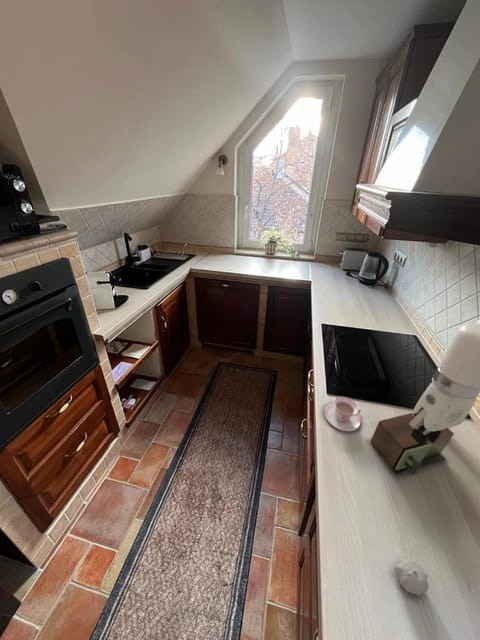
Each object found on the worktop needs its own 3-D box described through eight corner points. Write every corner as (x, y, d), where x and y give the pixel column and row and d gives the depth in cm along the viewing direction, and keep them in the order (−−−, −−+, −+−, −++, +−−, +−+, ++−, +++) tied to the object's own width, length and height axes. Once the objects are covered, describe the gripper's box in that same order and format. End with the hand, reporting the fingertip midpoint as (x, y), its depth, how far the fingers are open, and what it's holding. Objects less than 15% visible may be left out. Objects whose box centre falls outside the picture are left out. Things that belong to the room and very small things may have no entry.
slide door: (429, 473, 71) (442, 455, 67) (404, 481, 69) (416, 463, 65) (418, 461, 74) (430, 443, 70) (394, 468, 72) (405, 450, 68)
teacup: (323, 426, 85) (327, 413, 82) (324, 400, 95) (327, 388, 92) (362, 436, 82) (367, 423, 79) (358, 408, 92) (363, 396, 89)
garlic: (397, 595, 51) (406, 586, 48) (387, 560, 56) (395, 550, 53) (429, 602, 50) (440, 593, 48) (417, 566, 55) (426, 556, 52)
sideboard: (445, 459, 76) (460, 438, 71) (396, 475, 72) (408, 454, 67) (415, 429, 85) (426, 409, 80) (370, 441, 81) (379, 420, 76)
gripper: (443, 403, 46) (407, 462, 56) (506, 387, 50) (463, 445, 59) (409, 375, 53) (382, 432, 62) (467, 364, 56) (434, 419, 66)
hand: (422, 438), depth 61 cm, fingers closed
